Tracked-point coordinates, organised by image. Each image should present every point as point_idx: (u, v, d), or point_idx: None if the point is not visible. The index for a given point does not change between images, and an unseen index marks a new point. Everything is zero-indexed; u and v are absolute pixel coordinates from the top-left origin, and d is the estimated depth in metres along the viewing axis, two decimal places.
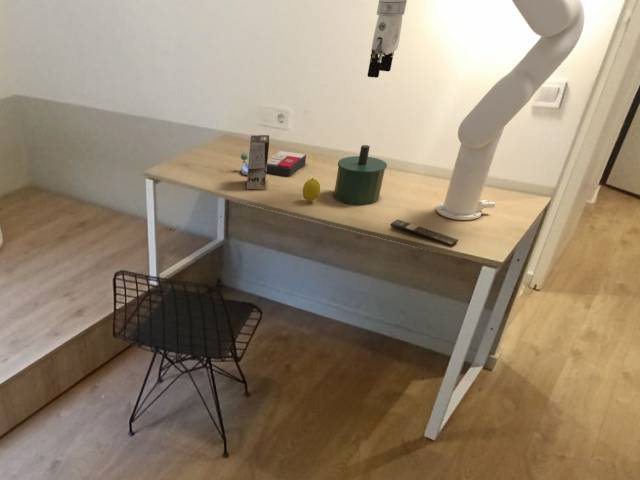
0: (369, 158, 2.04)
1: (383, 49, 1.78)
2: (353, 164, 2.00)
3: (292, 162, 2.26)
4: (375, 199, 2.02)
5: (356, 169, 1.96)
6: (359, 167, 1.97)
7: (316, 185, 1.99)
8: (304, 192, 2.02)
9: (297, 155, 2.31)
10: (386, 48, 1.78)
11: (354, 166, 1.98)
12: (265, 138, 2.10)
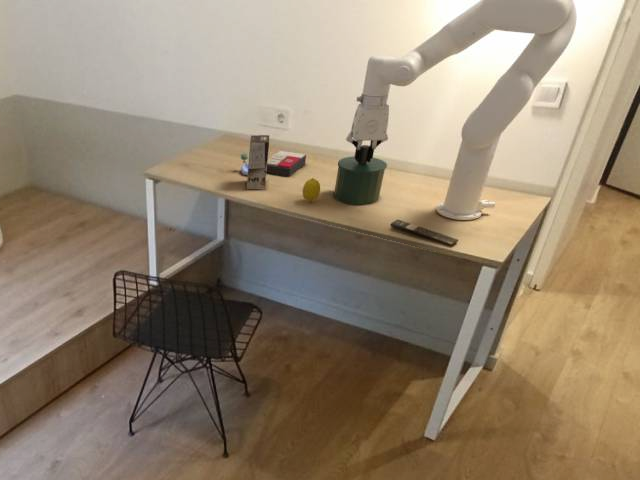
0: None
1: (352, 134, 1.93)
2: (353, 164, 2.00)
3: (292, 162, 2.26)
4: (375, 199, 2.02)
5: (356, 169, 1.96)
6: (359, 167, 1.97)
7: (316, 185, 1.99)
8: (304, 192, 2.02)
9: (297, 155, 2.31)
10: (354, 134, 1.92)
11: (354, 166, 1.98)
12: (265, 138, 2.10)
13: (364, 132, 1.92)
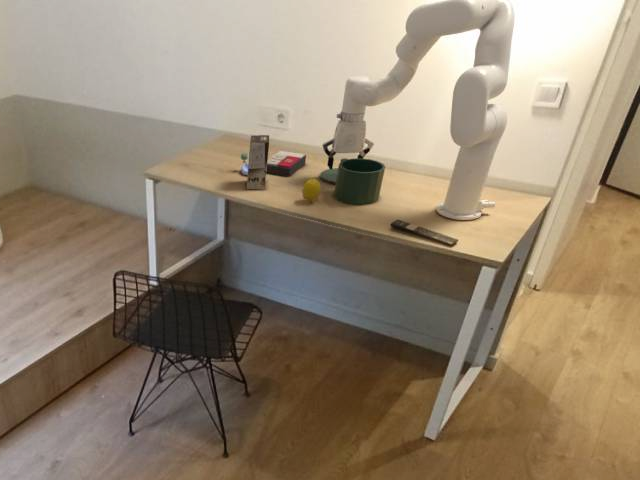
0: None
1: (333, 148, 2.13)
2: (334, 175, 2.20)
3: (292, 162, 2.26)
4: (375, 199, 2.02)
5: None
6: None
7: (316, 185, 1.99)
8: (304, 192, 2.02)
9: (297, 155, 2.31)
10: (335, 147, 2.12)
11: (334, 177, 2.19)
12: (265, 138, 2.10)
13: (344, 145, 2.11)
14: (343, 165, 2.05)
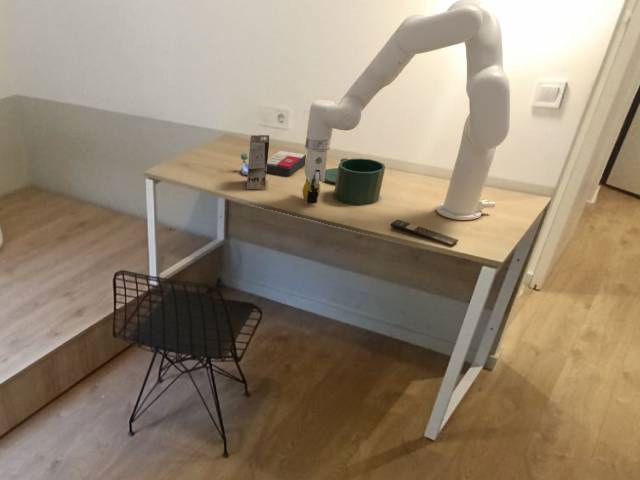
0: None
1: (321, 179, 1.95)
2: (334, 175, 2.20)
3: (292, 162, 2.26)
4: (375, 199, 2.02)
5: None
6: None
7: None
8: (304, 192, 2.02)
9: (297, 155, 2.31)
10: (324, 178, 1.95)
11: (334, 177, 2.19)
12: (265, 138, 2.10)
13: None
14: (343, 165, 2.05)
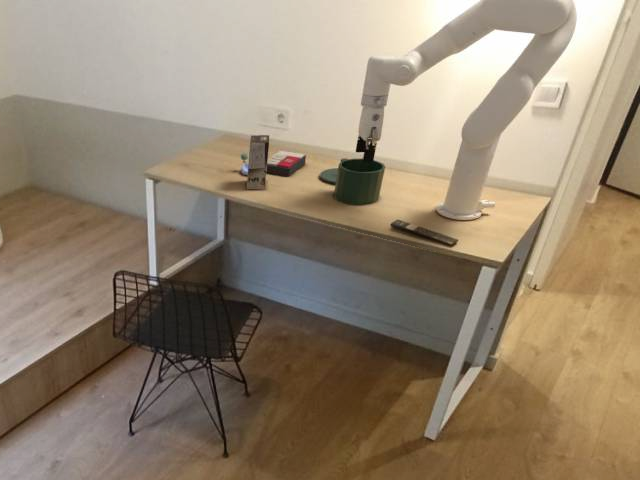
0: None
1: (378, 137, 1.90)
2: (334, 175, 2.20)
3: (292, 162, 2.26)
4: (375, 199, 2.02)
5: None
6: None
7: None
8: None
9: (297, 155, 2.31)
10: (380, 135, 1.90)
11: (334, 177, 2.19)
12: (265, 138, 2.10)
13: None
14: (343, 165, 2.05)
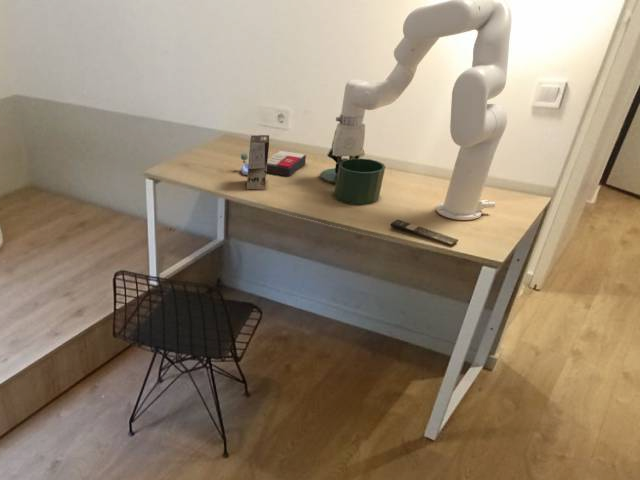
0: None
1: (332, 151, 2.14)
2: (334, 175, 2.20)
3: (292, 162, 2.26)
4: (375, 199, 2.02)
5: None
6: None
7: None
8: None
9: (297, 155, 2.31)
10: (334, 150, 2.13)
11: (335, 177, 2.19)
12: (265, 138, 2.10)
13: (343, 149, 2.12)
14: (343, 165, 2.05)
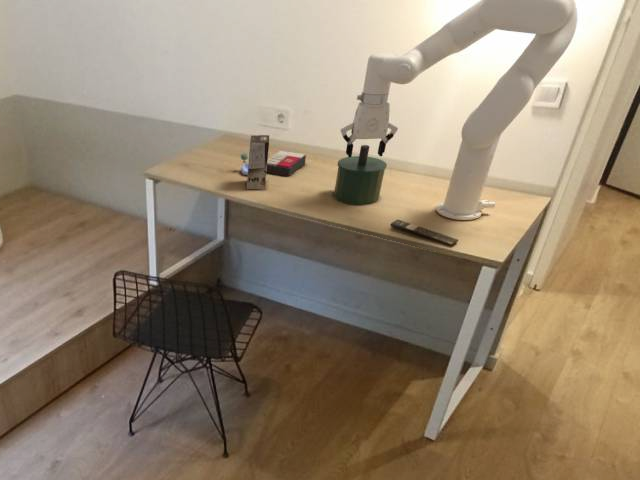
0: (369, 158, 2.04)
1: (353, 133, 1.93)
2: (353, 164, 2.00)
3: (292, 162, 2.26)
4: (375, 199, 2.02)
5: (356, 169, 1.96)
6: (359, 167, 1.97)
7: None
8: None
9: (297, 155, 2.31)
10: (354, 133, 1.92)
11: (354, 166, 1.98)
12: (265, 138, 2.10)
13: (365, 130, 1.91)
14: None
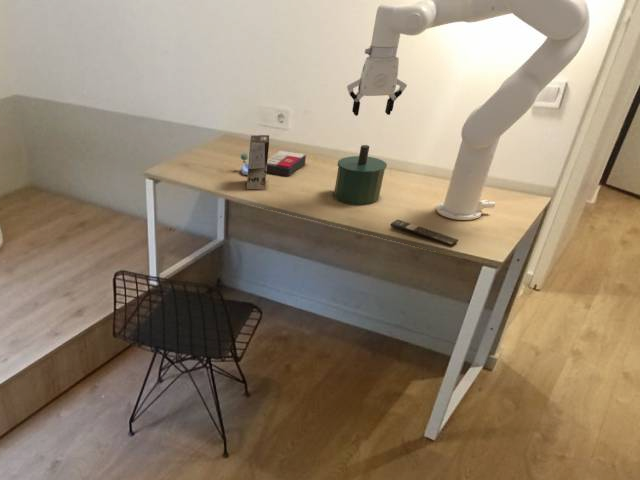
0: (369, 158, 2.04)
1: (360, 89, 1.85)
2: (353, 164, 2.00)
3: (291, 162, 2.26)
4: (375, 199, 2.02)
5: (356, 169, 1.96)
6: (359, 167, 1.97)
7: None
8: None
9: (297, 155, 2.31)
10: (362, 89, 1.85)
11: (354, 166, 1.98)
12: (265, 138, 2.10)
13: (372, 86, 1.84)
14: None
